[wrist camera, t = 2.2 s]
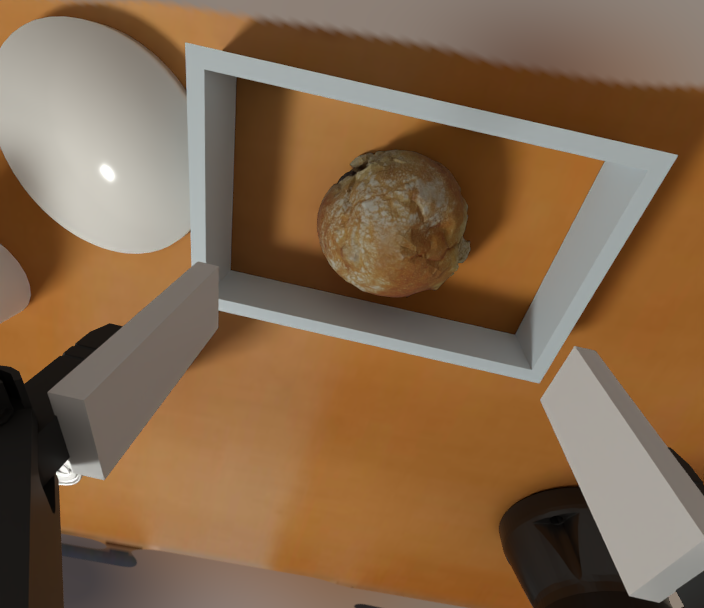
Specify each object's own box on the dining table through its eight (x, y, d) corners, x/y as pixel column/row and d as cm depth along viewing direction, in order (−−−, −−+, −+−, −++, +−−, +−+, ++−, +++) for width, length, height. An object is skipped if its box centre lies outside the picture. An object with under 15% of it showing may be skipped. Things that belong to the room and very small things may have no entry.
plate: (213, 49, 23) (204, 47, 22) (212, 266, 30) (206, 272, 29) (-24, -6, 23) (-44, -10, 22) (34, 225, 30) (21, 230, 29)
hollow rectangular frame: (630, 144, 23) (678, 155, 19) (521, 346, 31) (539, 383, 27) (221, 50, 23) (185, 42, 19) (218, 278, 31) (192, 304, 27)
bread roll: (415, 129, 27) (378, 91, 20) (506, 236, 26) (502, 237, 19) (326, 221, 31) (269, 217, 24) (401, 317, 30) (364, 343, 23)
